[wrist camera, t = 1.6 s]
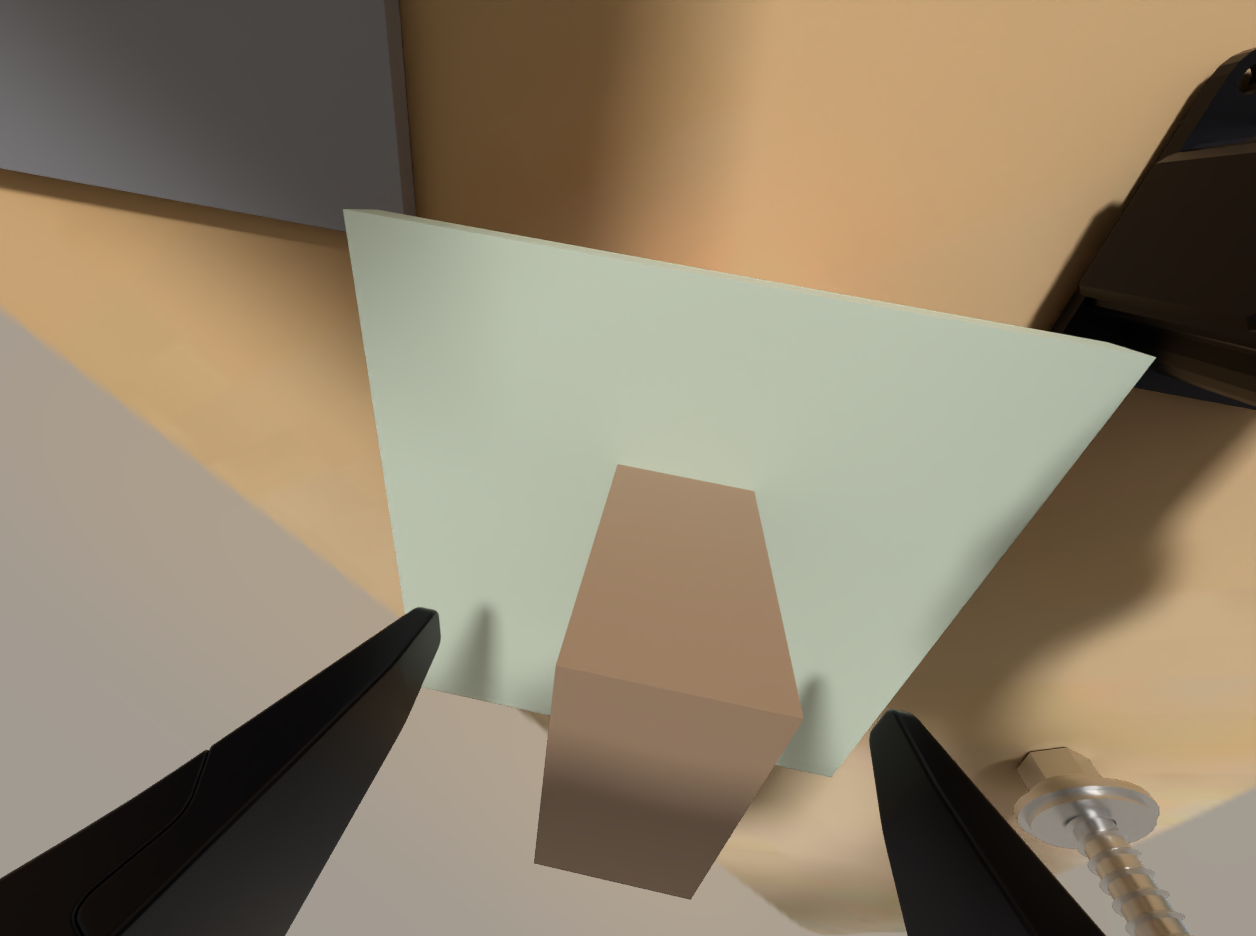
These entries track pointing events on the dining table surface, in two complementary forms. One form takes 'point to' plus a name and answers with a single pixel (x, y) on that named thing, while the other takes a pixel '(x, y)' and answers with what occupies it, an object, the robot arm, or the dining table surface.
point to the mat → (212, 102)
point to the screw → (1098, 832)
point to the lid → (692, 509)
